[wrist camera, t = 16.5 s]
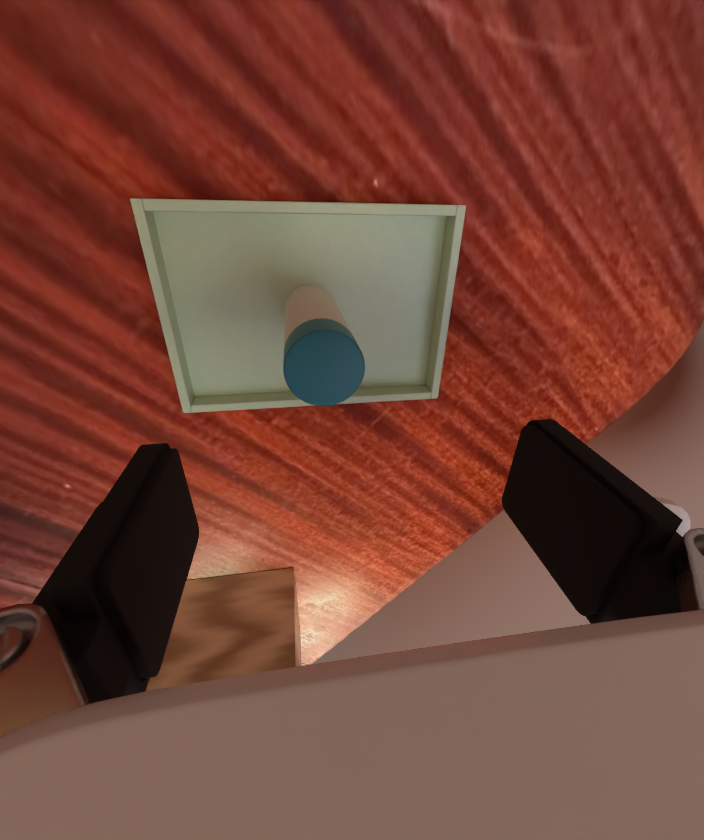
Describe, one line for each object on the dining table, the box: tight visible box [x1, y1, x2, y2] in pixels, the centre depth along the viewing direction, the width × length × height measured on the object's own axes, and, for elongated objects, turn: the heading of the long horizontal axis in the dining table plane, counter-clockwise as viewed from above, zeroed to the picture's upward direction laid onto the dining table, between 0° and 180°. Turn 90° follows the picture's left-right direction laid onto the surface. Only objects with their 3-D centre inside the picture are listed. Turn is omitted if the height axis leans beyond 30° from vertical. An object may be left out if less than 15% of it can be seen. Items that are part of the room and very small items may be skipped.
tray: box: [130, 198, 466, 413], centre depth 25 cm, size 19×13×2 cm
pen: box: [283, 284, 365, 406], centre depth 21 cm, size 4×4×11 cm
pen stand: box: [146, 568, 301, 691], centre depth 33 cm, size 12×12×19 cm
